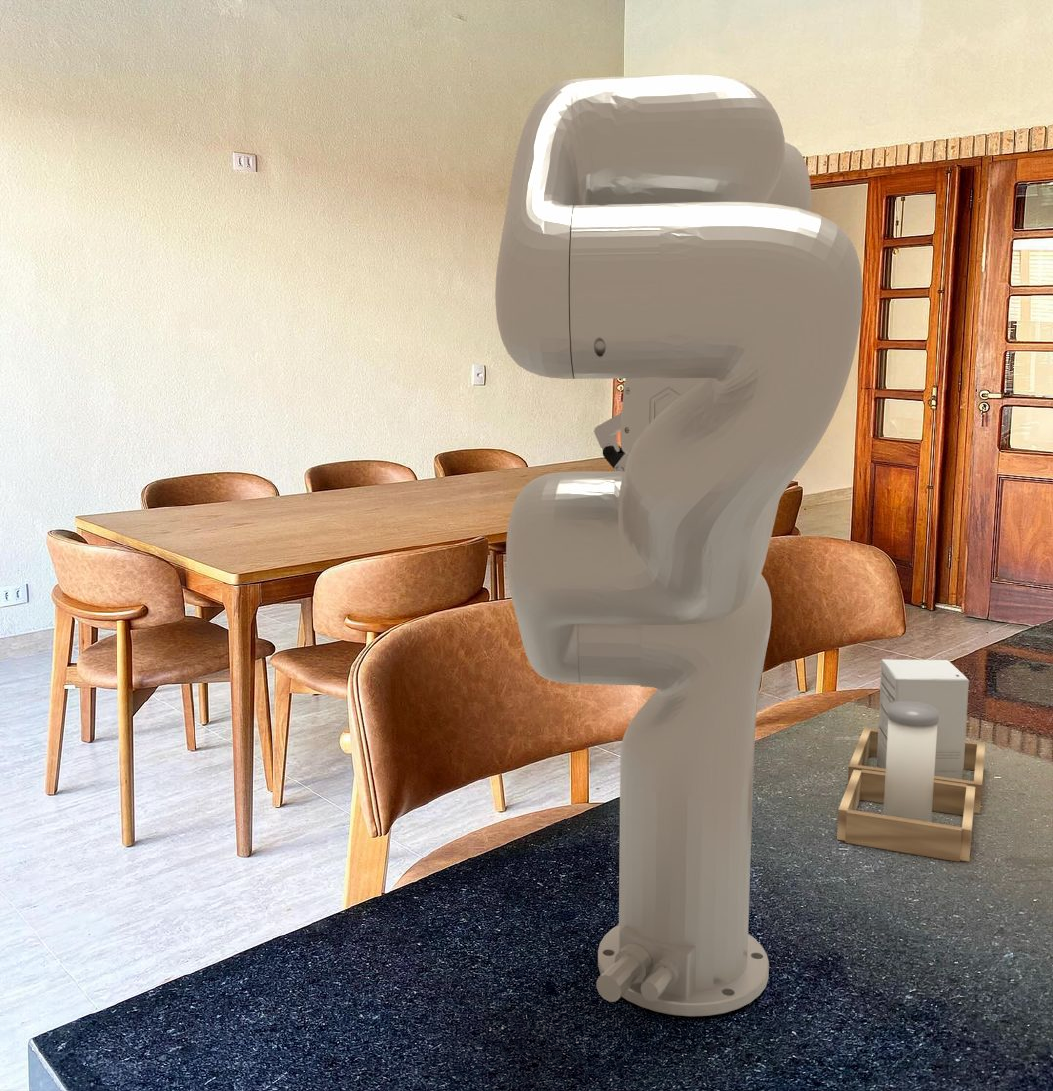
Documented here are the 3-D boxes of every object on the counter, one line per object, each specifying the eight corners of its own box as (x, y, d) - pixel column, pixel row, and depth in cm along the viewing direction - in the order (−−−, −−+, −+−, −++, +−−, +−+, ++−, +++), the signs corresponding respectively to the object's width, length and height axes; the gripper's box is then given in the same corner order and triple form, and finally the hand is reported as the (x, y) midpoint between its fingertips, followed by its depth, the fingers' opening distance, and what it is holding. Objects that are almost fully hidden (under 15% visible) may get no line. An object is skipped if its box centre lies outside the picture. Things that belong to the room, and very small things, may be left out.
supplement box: (943, 769, 119) (950, 658, 117) (963, 796, 112) (971, 678, 110) (874, 767, 120) (880, 657, 118) (889, 794, 113) (896, 677, 111)
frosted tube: (925, 841, 102) (932, 719, 100) (876, 830, 104) (882, 711, 102) (936, 824, 106) (944, 705, 103) (888, 813, 108) (895, 698, 106)
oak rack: (976, 864, 97) (978, 833, 97) (829, 840, 102) (831, 810, 102) (983, 769, 119) (985, 743, 119) (862, 752, 124) (864, 727, 124)
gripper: (577, 330, 96) (576, 521, 99) (763, 326, 87) (757, 537, 90) (617, 331, 102) (615, 511, 105) (795, 328, 93) (788, 524, 96)
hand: (680, 522), depth 98 cm, fingers open, 9 cm apart
